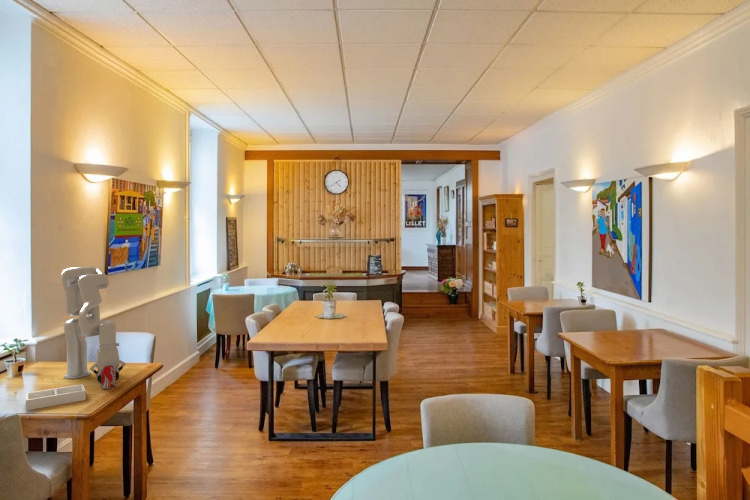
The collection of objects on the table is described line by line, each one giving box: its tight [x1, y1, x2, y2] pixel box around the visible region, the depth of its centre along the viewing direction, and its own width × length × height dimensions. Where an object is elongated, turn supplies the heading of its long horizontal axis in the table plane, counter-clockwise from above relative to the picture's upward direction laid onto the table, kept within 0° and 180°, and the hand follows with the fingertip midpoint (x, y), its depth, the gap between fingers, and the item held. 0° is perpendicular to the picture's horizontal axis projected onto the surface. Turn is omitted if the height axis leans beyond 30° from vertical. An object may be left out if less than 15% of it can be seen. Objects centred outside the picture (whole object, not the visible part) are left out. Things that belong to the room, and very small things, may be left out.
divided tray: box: [25, 383, 87, 411], centre depth 231 cm, size 12×23×4 cm, turn 126°
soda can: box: [99, 365, 117, 390], centre depth 251 cm, size 7×7×12 cm
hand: (108, 380), depth 251 cm, fingers closed on soda can, 7 cm apart
